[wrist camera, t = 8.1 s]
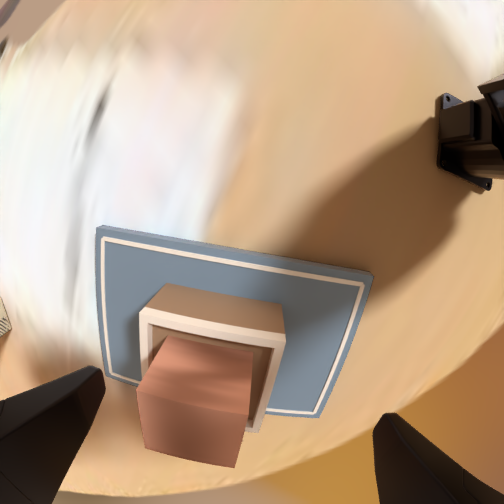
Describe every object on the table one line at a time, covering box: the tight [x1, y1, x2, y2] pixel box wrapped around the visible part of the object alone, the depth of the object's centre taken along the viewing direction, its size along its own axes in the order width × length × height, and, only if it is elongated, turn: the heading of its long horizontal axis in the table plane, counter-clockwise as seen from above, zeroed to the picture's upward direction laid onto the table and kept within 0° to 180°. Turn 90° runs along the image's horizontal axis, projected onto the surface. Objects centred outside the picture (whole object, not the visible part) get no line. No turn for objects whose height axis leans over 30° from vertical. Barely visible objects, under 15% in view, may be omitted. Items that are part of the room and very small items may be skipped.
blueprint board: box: [96, 225, 374, 433], centre depth 18 cm, size 20×14×6 cm
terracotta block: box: [136, 335, 253, 468], centre depth 13 cm, size 5×5×5 cm
